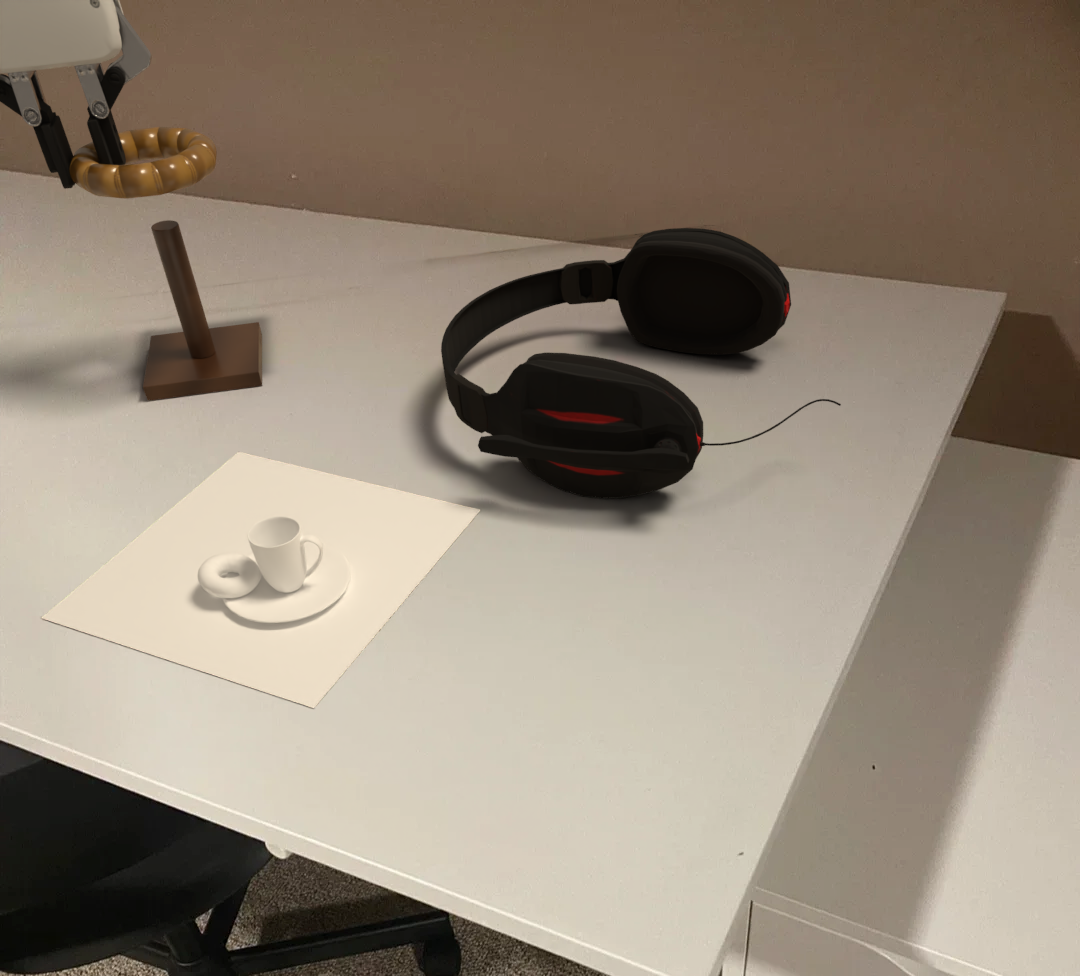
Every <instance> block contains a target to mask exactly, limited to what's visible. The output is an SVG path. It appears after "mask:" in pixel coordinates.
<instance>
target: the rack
mask: <svg viewBox="0 0 1080 976" xmlns="http://www.w3.org/2000/svg"><path fill="white" fill-rule="evenodd" d="M150 228H151V229H150V230H151V232H152V236H153V239H154V242H155V246H156V248H157V251H158V255H159V258H160V261H161V265H162V268H163V271H164V274H165V277H166V280H167V284H168V288H169V291H170V293H171V296H172V300H173V303H174V307H175V309H176V313H177V316H178V319H179V322H180V326H181V329H182V331H178V332H170V333H162V334H155V335H151V336H150V341H149V346H148V353H147V359H146V365H145V372H144V377H143V384H142V389H143V392H144V395H145V398H146V400H147V402H149V401H156V400H164V399H173V398H180V397H187V396H195V395H202V394H211V393H219V392H225V391H232V390H239V389H247V388H255V387H262V386H263V333H262V329H261V326H260V325H261V324H260V322H259V321H256V322H250V323H249V322H248V323H240V324H234V325H233V324H232V325H226V326H225V325H224V326H217V327H216V326H215V327H210V326H209V324H208V321H207V316H206V314H205V310H204V307H203V303H202V299H201V296H200V293H199V289H198V285H197V283H196V279H195V275H194V272H193V269H192V266H191V262H190V259H189V255H188V251H187V248H186V244H185V242H184V238H183V235H182V231H181V228H180V224H179V222H178V221H177V220H171V219H170V220H168V219H167V220H161V221H157V222H155V223H153V224H152V225H151V227H150Z"/></svg>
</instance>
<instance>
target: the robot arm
mask: <svg viewBox="0 0 1080 976" xmlns="http://www.w3.org/2000/svg"><path fill="white" fill-rule="evenodd" d="M120 53H122V55H121V56H119V54H120ZM117 56H119V57H118V58H117V59H116V60H115V61H113V62H111V63H110V64H109V65H108V67H107V68H106V71H104V68H103V65H102V63H106V62H108V61H112V59H114V58H115V57H117ZM152 58H153V57H152V53H151V51H150V50H149V48H148V47H147V45H146V44H145V43H144V40H142V39H141V37H140V36H139V34H138V33H137V31H136V30H135V29H134V27H133V26H132V24H131V22H129V20H128V19H127V17H126V16H125V14H124V11H123V8H122V4H121V1H120V0H0V103H1V104H3V105H4V106H6V107H7V108H9V109H10V110H12V111H13V112H15V114H17V115H18V116H20V117H21V118H22V119H23V121H24V122H25V123H26V124H27V125H29V126H31V127H32V129H33V130H34V133H35V136H36V139H37V141H38V144H39V147H40V149H41V152H42V155H43V157H44V160H45V163H46V165H47V168H48V170H49V172H50V173H51V174H56V173H57V174H58V177H59V180H60V182H61V186H62V188H63V189H64V190H67V189H72V188H73V187H74V186H75V185H76V183H75V182H74V181H73V180H72V178H71V176H70V171H69V168H70V164H71V161H72V159H73V156H74V153H73V150H72V148H71V145H70V143H69V139H68V137H67V134H66V131H65V128H64V125H63V122H62V119H61V117H60V115H57V112H56V111H53V110H52V107H51V105H49V104H48V103H47V100H46V97H45V94H44V90H43V87H42V84H41V81H40V78H39V74H38V71H42V70H50V69H51V70H53V69H59V68H70V67H74V70H75V72H76V75H77V77H78V80H79V83H80V86H81V88H82V92H83V94H84V98H85V99H86V102H87V105H88V106H87V109H86V110H87V113H88V116H89V117H88V119H87V121H86V126H87V129H88V132H89V135H90V138H91V142H92V141H93V144H94V147H95V150H96V153H97V156H98V159H99V162H100V164H108V165H125V163H126V158H125V153H124V150H123V147H122V144H121V140H120V137H119V134H118V133H119V131H118V128H117V124H116V122H115V119H114V116H113V113H112V109H113V106H114V105H115V103H116V101H117V99H118V97H119V96H120V93H121V91H122V90H123V87H124V86H125V85H126V84H127V83H129V82H130V81H132V80H133V79H135V78H136V77H137V76H139V75H140V74H141V73H143V72H144V71H145V70H147V69H149V67H150V66H151V62H152Z"/></svg>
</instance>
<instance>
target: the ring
mask: <svg viewBox="0 0 1080 976" xmlns="http://www.w3.org/2000/svg"><path fill="white" fill-rule="evenodd" d="M118 134H119V137H120V140H121V144H122V147H123V150H124V153H125V158H126V163H125V165H108V164H100V162H99V159H98V156H97V153H96V150H95V147H94V144H93V141H92V140H91V141H90V142H89V143H87V144H85V145H83V146H81V147H79V148H77V149H76V151H75V152H74V153H73V159H72V161H71V164H70V168H69V171H70V176H71V178H72V180H73V181H74V182H75V185H76V186H77V187H79V188H81V189H83V190H84V191H87V192H88V193H90V194H91V195H92V196H93V195H94V196H95V197H101V198H102V197H103V198H112V199H113V198H115V199H127V200H128V199H129V200H130V199H137V198H146V197H155V196H156V197H157V196H161V195H162V196H163V195H166V194H169V193H172V192H177V191H179V190H182V189H186V188H190V187H192V186H194V185H196V184H197V183H199V182H200V181H202V180H204V179H205V178H207V177H209V175H211V174H212V173H213V172H214V171H215V169H216V164H217V157H218V156H217V154H218V152H217V151H218V150H217V148H216V145H215V143H214V141H213V140H212V139H211V138H210V137H208V136H206V135H205V134H203V133H200V132H198V131H196V130H194V129H191V128H184V127H171V126H156V127H145V128H136V129H134V128H133V129H128V130H124V131H120V132H118ZM151 160H154V161H151ZM142 161H149V162H142ZM138 162H139V163H138Z"/></svg>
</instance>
